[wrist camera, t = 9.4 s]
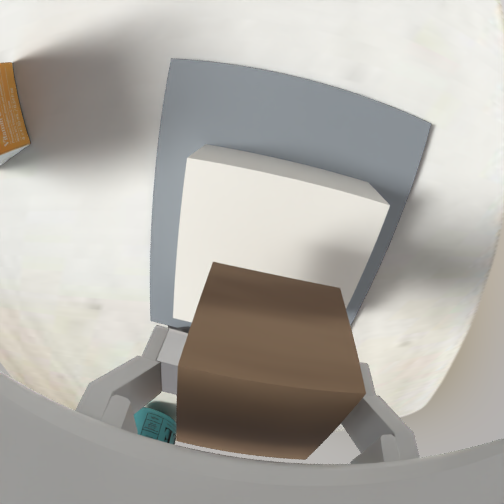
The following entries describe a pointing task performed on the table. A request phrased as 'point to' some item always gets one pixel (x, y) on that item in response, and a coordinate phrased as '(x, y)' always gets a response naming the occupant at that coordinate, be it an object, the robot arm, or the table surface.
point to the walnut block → (266, 365)
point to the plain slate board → (275, 149)
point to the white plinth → (272, 222)
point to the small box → (10, 116)
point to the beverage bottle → (155, 425)
